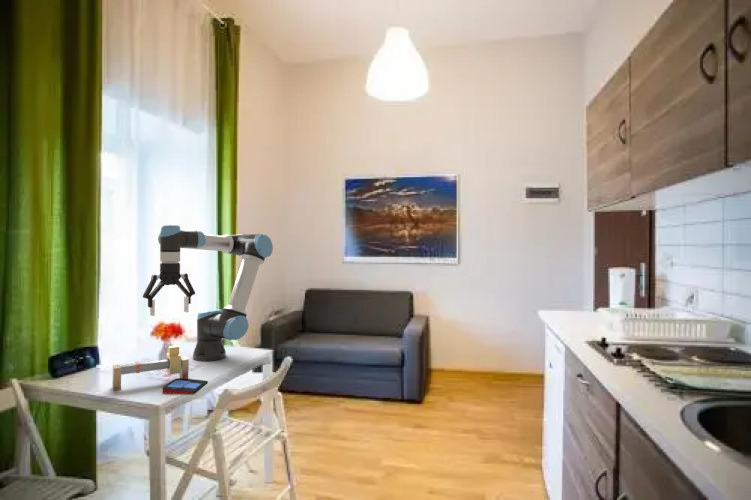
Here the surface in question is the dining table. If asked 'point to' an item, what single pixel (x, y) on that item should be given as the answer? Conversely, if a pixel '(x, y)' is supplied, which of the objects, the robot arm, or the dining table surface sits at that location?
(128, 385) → the dining table surface
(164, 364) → the grey rail on posts
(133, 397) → the dining table surface
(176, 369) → the beige wooden block
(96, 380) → the dining table surface
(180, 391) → the game console
